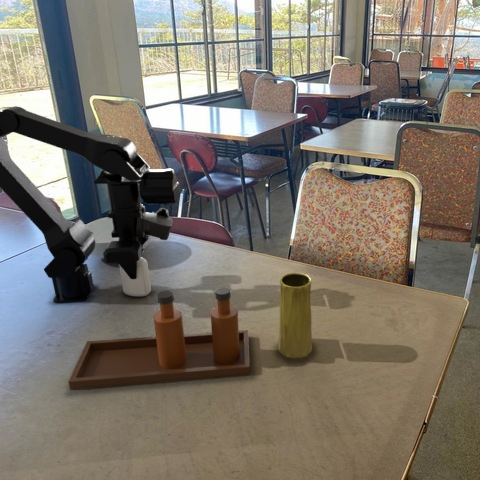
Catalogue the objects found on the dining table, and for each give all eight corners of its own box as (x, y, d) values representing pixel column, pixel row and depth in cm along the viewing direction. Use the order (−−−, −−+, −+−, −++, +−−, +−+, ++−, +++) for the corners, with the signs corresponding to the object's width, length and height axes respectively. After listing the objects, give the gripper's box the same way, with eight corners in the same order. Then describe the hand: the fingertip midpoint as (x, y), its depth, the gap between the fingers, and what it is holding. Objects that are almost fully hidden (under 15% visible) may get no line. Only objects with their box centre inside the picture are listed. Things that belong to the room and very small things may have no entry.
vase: (286, 364, 82) (286, 291, 76) (272, 345, 87) (271, 275, 81) (318, 355, 85) (320, 284, 79) (303, 336, 90) (304, 268, 84)
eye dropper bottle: (135, 301, 99) (127, 248, 94) (120, 291, 102) (113, 240, 98) (153, 293, 102) (147, 242, 98) (139, 284, 106) (132, 234, 101)
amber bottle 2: (213, 365, 80) (208, 298, 75) (214, 349, 84) (209, 285, 79) (239, 363, 81) (236, 296, 76) (239, 347, 85) (236, 283, 80)
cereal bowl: (95, 240, 127) (91, 215, 124) (160, 239, 129) (157, 214, 126) (72, 269, 112) (66, 241, 109) (146, 267, 113) (142, 240, 111)
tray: (70, 392, 74) (68, 381, 74) (89, 351, 84) (87, 341, 83) (250, 377, 79) (249, 366, 78) (248, 339, 88) (247, 329, 88)
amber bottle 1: (157, 369, 79) (148, 302, 74) (161, 353, 83) (152, 288, 78) (185, 367, 80) (177, 300, 74) (187, 351, 84) (180, 286, 78)
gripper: (161, 219, 87) (170, 294, 93) (173, 188, 104) (179, 253, 110) (96, 221, 85) (109, 297, 92) (119, 189, 102) (129, 255, 109)
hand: (135, 274), depth 101 cm, fingers closed on eye dropper bottle, 4 cm apart
